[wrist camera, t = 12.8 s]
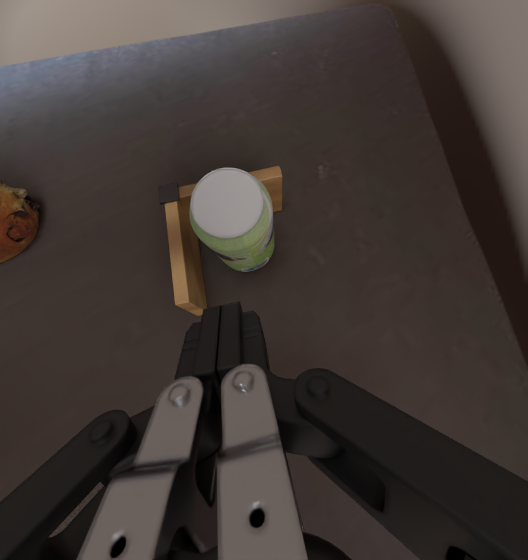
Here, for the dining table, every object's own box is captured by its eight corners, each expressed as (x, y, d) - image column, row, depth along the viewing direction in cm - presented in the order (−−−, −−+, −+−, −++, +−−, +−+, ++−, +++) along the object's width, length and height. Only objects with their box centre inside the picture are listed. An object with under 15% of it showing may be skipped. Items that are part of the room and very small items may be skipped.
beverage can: (267, 218, 30) (259, 132, 18) (283, 278, 28) (285, 223, 16) (213, 231, 30) (171, 153, 18) (226, 292, 28) (187, 247, 16)
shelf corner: (303, 293, 27) (309, 275, 21) (194, 316, 27) (169, 305, 21) (279, 199, 31) (278, 160, 25) (182, 219, 31) (157, 186, 25)
